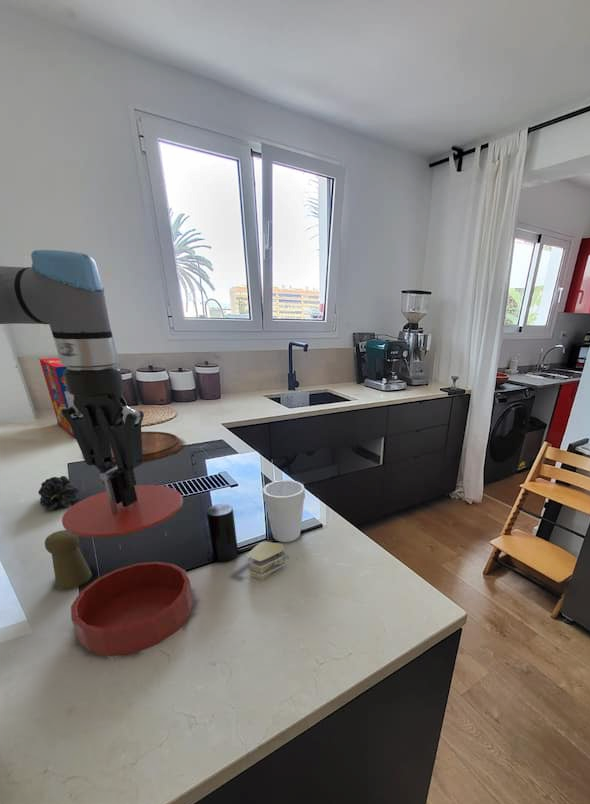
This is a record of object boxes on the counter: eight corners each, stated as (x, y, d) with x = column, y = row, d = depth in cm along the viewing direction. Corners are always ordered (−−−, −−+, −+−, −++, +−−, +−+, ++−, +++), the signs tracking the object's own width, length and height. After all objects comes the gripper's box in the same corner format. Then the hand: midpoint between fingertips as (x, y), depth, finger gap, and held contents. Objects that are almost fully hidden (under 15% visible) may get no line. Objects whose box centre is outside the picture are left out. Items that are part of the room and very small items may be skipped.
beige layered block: (268, 593, 76) (266, 570, 74) (234, 578, 80) (231, 555, 78) (299, 566, 84) (298, 545, 82) (267, 554, 88) (265, 533, 86)
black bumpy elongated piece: (40, 464, 108) (40, 482, 97) (77, 467, 114) (81, 484, 103) (37, 493, 110) (36, 514, 99) (73, 495, 115) (76, 515, 104)
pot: (53, 647, 63) (42, 621, 61) (130, 579, 79) (124, 556, 77) (151, 666, 60) (144, 639, 58) (211, 592, 76) (207, 568, 74)
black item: (209, 562, 85) (201, 514, 80) (221, 549, 89) (214, 502, 84) (231, 565, 84) (225, 517, 79) (242, 552, 89) (237, 505, 84)
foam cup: (298, 550, 90) (296, 499, 85) (260, 545, 91) (256, 495, 86) (310, 529, 99) (309, 482, 93) (275, 524, 100) (272, 478, 95)
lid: (34, 533, 64) (16, 483, 60) (118, 486, 81) (108, 445, 77) (138, 546, 61) (126, 495, 57) (202, 495, 78) (196, 452, 74)
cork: (81, 568, 82) (66, 523, 77) (99, 577, 79) (85, 530, 75) (49, 585, 77) (32, 537, 72) (68, 595, 74) (51, 546, 70)
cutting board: (77, 470, 128) (75, 463, 127) (93, 441, 154) (91, 435, 153) (183, 458, 140) (182, 452, 139) (181, 433, 167) (180, 427, 166)
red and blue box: (58, 424, 174) (39, 358, 163) (79, 420, 180) (62, 357, 168) (74, 438, 157) (54, 367, 145) (97, 434, 162) (79, 365, 151)
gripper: (27, 367, 58) (71, 508, 68) (115, 372, 56) (147, 516, 65) (70, 361, 65) (104, 489, 74) (150, 365, 63) (174, 497, 72)
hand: (124, 502), depth 70 cm, fingers closed on lid, 1 cm apart
